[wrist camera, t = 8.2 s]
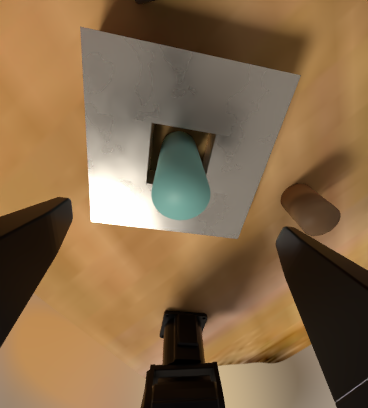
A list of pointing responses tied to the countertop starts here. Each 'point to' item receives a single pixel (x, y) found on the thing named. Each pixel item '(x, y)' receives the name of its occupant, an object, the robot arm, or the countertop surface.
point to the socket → (177, 117)
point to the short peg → (310, 209)
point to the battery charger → (143, 1)
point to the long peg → (180, 179)
